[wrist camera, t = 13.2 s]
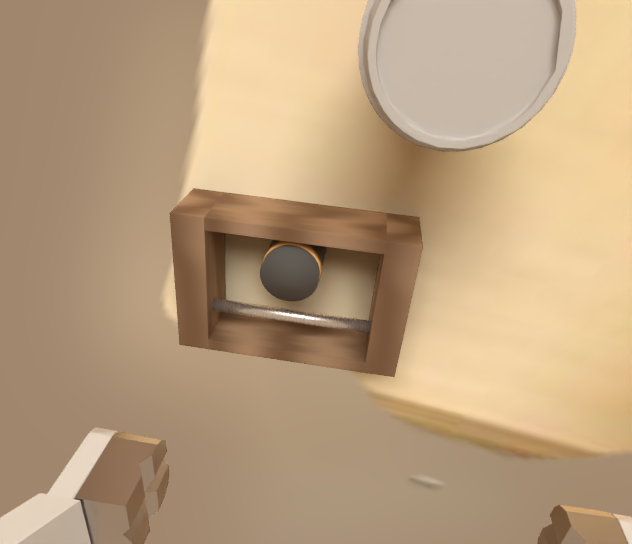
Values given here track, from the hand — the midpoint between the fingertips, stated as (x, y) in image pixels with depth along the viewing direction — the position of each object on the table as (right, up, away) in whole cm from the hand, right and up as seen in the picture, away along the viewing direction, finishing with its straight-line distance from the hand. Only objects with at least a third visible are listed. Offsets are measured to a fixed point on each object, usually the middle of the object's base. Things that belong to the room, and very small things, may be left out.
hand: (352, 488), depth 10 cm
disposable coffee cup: (+7, +20, +21) cm, 30 cm away
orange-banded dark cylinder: (-2, +7, +30) cm, 31 cm away
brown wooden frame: (-2, +5, +31) cm, 32 cm away
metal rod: (-3, +1, +30) cm, 30 cm away
